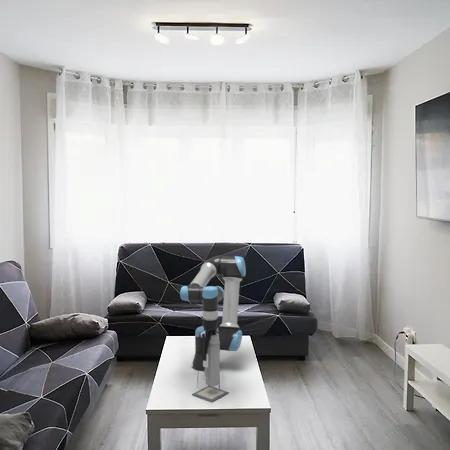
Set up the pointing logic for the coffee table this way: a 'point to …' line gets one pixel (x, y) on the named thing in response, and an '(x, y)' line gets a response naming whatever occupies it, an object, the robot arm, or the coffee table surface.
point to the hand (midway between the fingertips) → (210, 364)
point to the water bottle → (213, 362)
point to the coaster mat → (210, 393)
